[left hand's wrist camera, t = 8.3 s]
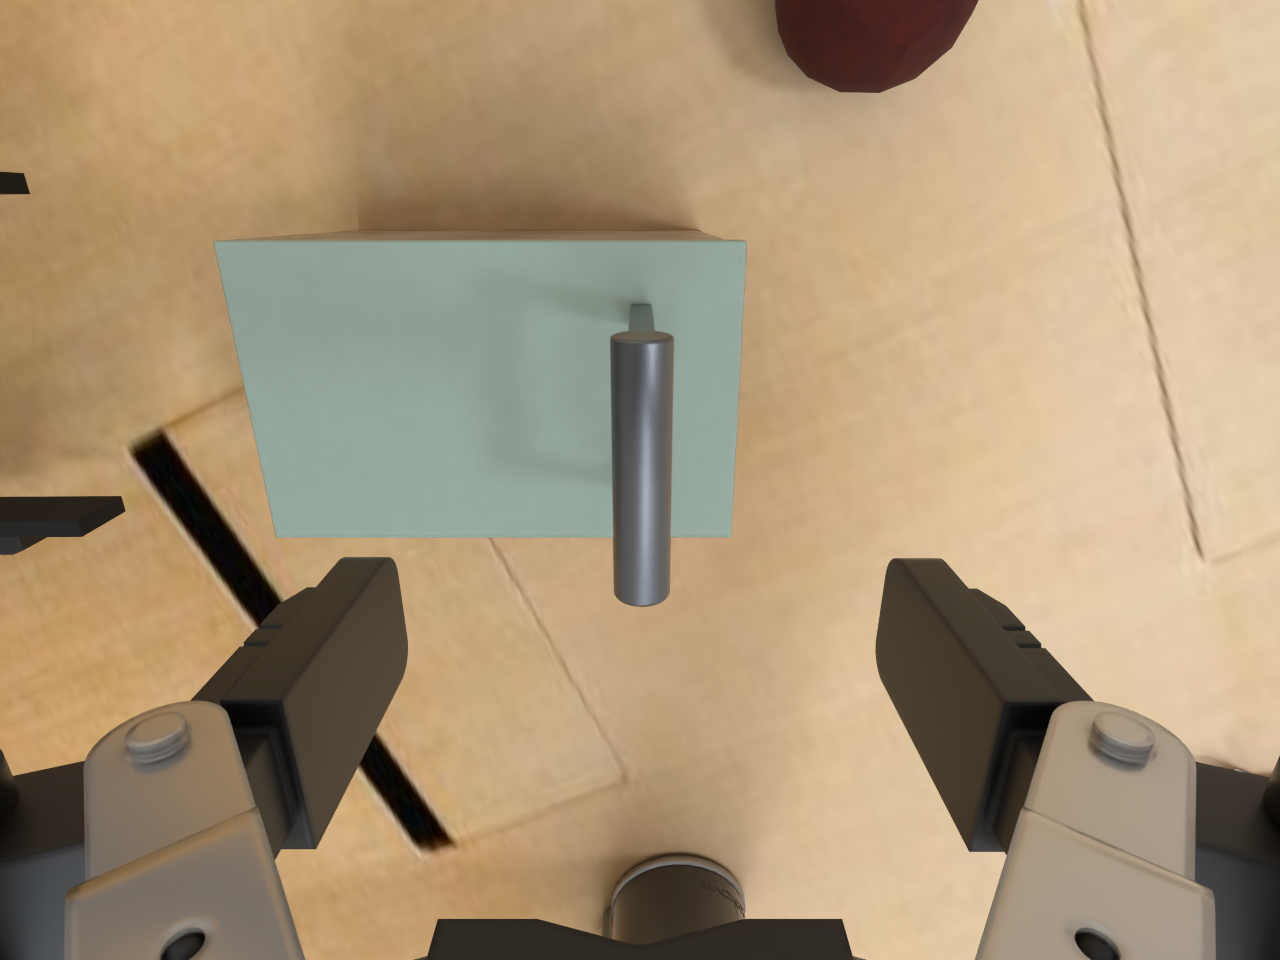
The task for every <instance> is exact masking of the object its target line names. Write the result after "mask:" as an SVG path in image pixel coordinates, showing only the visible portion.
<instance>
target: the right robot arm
mask: <svg viewBox="0 0 1280 960" xmlns="http://www.w3.org/2000/svg"><path fill="white" fill-rule="evenodd" d="M0 194H30V192H29V189H28V186H27V182H26V179H25V176H24V173H11V172H0ZM123 512H125V507H124V504H123V501H122V497H121V496H81V497H0V554H1V555H13V554H16V553H18V552H20V551H23V550H25V549H26V548H28V547H30V546H32V545H34V544H35V543H37V542H39V541H41V540H43V539H45V538H46V537H82V536H84V535H86V534H88V533H89V532H91V531H93V530H94V529H96V528H98V527H99V526H101V525H103V524H105V523H106V522H108V521H110V520H111V519H113V518H115V517H117V516H118V515H120V514H122V513H123Z"/></svg>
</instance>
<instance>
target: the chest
mask: <svg viewBox="0 0 1280 960" xmlns="http://www.w3.org/2000/svg"><path fill="white" fill-rule="evenodd" d="M236 240H724V239H721V238H718V237H715V236H712V235H709V234H706V233H704V232H701V231H700V230H355V231H345V232H332V233H318V234H304V235H291V236H277V237H263V238H250V239H236Z"/></svg>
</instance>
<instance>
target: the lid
mask: <svg viewBox="0 0 1280 960" xmlns="http://www.w3.org/2000/svg"><path fill="white" fill-rule="evenodd" d="M214 247H215V251H216V256H217V261H218V265H219V270H220V275H221V280H222V284H223V289H224V294H225V299H226V303H227V308H228V313H229V317H230V322H231V327H232V332H233V336H234V341H235V346H236V351H237V355H238V360H239V365H240V369H241V374H242V379H243V384H244V388H245V393H246V398H247V403H248V407H249V412H250V417H251V421H252V426H253V431H254V436H255V440H256V445H257V450H258V455H259V459H260V464H261V469H262V473H263V478H264V483H265V488H266V492H267V497H268V502H269V507H270V511H271V516H272V521H273V525H274V530H275V535H276V537H277V538H309V537H613V566H614V594H615V596H616V597H617V599H618V600H620V601H621V602H623V603H625V604H628V605H631V606H639V607H645V606H652V605H656V604H659V603H661V602H663V601H664V600H665V599H666V598H667V597H668V595H669V592H670V545H671V537H731V533H732V514H733V495H734V476H735V457H736V438H737V420H738V401H739V382H740V363H741V344H742V326H743V307H744V288H745V269H746V250H747V242H746V241H743V240H223V241H215V242H214Z"/></svg>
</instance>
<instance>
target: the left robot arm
mask: <svg viewBox="0 0 1280 960" xmlns="http://www.w3.org/2000/svg"><path fill="white" fill-rule="evenodd" d="M407 656H408V640H407V632H406V625H405V618H404V611H403V605H402V598H401V591H400V584H399V577H398V571H397V567H396V564H395V562H394V560H393V559H392V558H390V557H344V558H342V559H340V560H339V561H338V562H337V563H336V565H335V566H334V567H333V568H332V569H331V570H330V572H329V573H328V574H327V575H326V576H325V577H324V579H323V580H322V581H321V582H320V583H319V584H318V586H317V587H307V588H306V589H304V590H302V591H301V592H299V593H297V594H296V595H294V596H292V597H291V598H289V599H287V600H285V601H284V602H282V603H280V604H279V605H278V606H277V607H276V608H275V609H274V610H273V611H272V612H271V613H270V614H269V615H268V617H267V618H266V619H265V620H264V621H263V622H262V623H261V624H260V628H259V629H256V630H255V631H254V632H253V633H252V634H251V635H250V636H249V637H248V638H247V639H246V641H245V642H244V646H243V647H239V648H238V649H237V650H236V651H235V653H234V654H233V655H232V656H231V657H230V658H229V659H228V660H227V661H226V662H225V663H224V665H223V666H222V667H221V668H220V669H219V670H218V671H217V672H216V673H215V674H214V675H213V677H212V678H211V679H210V680H209V681H208V682H207V683H206V684H205V685H204V686H203V687H202V689H201V690H200V691H199V692H198V693H197V694H196V695H195V696H194V697H193V698H192V699H191V701H185V702H177V703H173V704H168V705H164V706H161V707H157V708H154V709H152V710H149V711H146V712H144V713H141V714H139V715H137V716H135V717H133V718H131V719H129V720H127V721H125V722H124V723H122V724H120V725H119V726H117V727H116V728H114V729H113V730H111V731H110V732H109V733H107V734H106V735H105V736H104V737H103V738H101V739H100V740H99V741H98V742H97V743H96V744H95V745H94V747H93V748H92V749H91V751H90V752H89V753H88V755H87V758H86V760H85V761H82V762H77V763H72V764H68V765H63V766H58V767H54V768H49V769H44V770H39V771H35V772H30V773H25V774H21V775H16V776H12V773H11V771H10V769H9V766H8V764H7V762H6V759H5V757H4V754H3V752H2V750H0V960H305V958H304V954H303V951H302V948H301V945H300V941H299V938H298V935H297V932H296V928H295V925H294V922H293V919H292V915H291V912H290V909H289V906H288V902H287V899H286V896H285V893H284V889H283V886H282V883H281V880H280V876H279V873H278V870H277V867H276V863H275V859H276V857H277V855H278V854H279V852H280V850H281V849H316V848H317V846H318V844H319V842H320V840H321V838H322V836H323V834H324V832H325V830H326V828H327V826H328V825H329V823H330V821H331V819H332V817H333V815H334V813H335V811H336V809H337V807H338V805H339V803H340V801H341V799H342V797H343V795H344V793H345V791H346V789H347V787H348V785H349V783H350V781H351V779H352V777H353V775H354V773H355V771H356V769H357V767H358V765H359V763H360V761H361V759H362V757H363V755H364V753H365V752H366V750H367V748H368V746H369V744H370V742H371V740H372V738H373V736H374V734H375V732H376V730H377V728H378V726H379V724H380V722H381V720H382V718H383V716H384V714H385V712H386V710H387V708H388V706H389V704H390V702H391V700H392V698H393V696H394V694H395V692H396V690H397V688H398V686H399V684H400V682H401V680H402V678H403V676H404V673H405V669H406V664H407ZM876 661H877V667H878V672H879V675H880V678H881V680H882V683H883V685H884V686H885V688H886V690H887V692H888V694H889V696H890V698H891V700H892V702H893V704H894V706H895V708H896V710H897V712H898V714H899V716H900V718H901V720H902V722H903V724H904V725H905V727H906V729H907V731H908V733H909V735H910V737H911V739H912V741H913V743H914V745H915V747H916V749H917V751H918V753H919V755H920V757H921V759H922V761H923V762H924V764H925V766H926V768H927V770H928V772H929V774H930V776H931V778H932V780H933V782H934V784H935V786H936V788H937V790H938V792H939V794H940V796H941V798H942V800H943V801H944V803H945V805H946V807H947V809H948V811H949V813H950V815H951V817H952V819H953V821H954V823H955V825H956V827H957V829H958V831H959V833H960V835H961V837H962V838H963V840H964V842H965V844H966V846H967V848H968V850H969V852H1005V853H1006V855H1007V857H1006V860H1005V863H1004V867H1003V870H1002V873H1001V876H1000V880H999V883H998V886H997V889H996V893H995V896H994V899H993V902H992V906H991V909H990V912H989V915H988V919H987V922H986V925H985V928H984V932H983V935H982V938H981V941H980V945H979V948H978V951H977V954H976V958H975V960H1280V756H1279V759H1278V761H1277V763H1276V766H1275V768H1274V770H1273V773H1272V775H1271V778H1269V777H1264V776H1259V775H1254V774H1250V773H1245V772H1240V771H1236V770H1231V769H1226V768H1221V767H1217V766H1212V765H1207V764H1203V763H1199V762H1195V760H1194V758H1193V755H1192V754H1191V752H1190V751H1189V749H1188V748H1187V747H1186V745H1185V744H1184V743H1183V742H1182V741H1181V740H1180V739H1179V738H1177V737H1176V736H1175V735H1174V734H1173V733H1171V732H1170V731H1169V730H1167V729H1166V728H1164V727H1163V726H1161V725H1160V724H1158V723H1156V722H1155V721H1153V720H1151V719H1149V718H1147V717H1145V716H1143V715H1141V714H1139V713H1136V712H1134V711H1131V710H1128V709H1126V708H1123V707H1119V706H1116V705H1112V704H1107V703H1103V702H1095V701H1094V700H1093V699H1092V698H1091V697H1090V696H1089V695H1088V694H1087V693H1086V692H1085V691H1084V690H1083V689H1082V688H1081V686H1080V685H1079V684H1078V683H1077V682H1076V681H1075V680H1074V679H1073V678H1072V677H1071V676H1070V675H1069V673H1068V672H1067V671H1066V670H1065V669H1064V668H1063V667H1062V666H1061V665H1060V664H1059V663H1058V662H1057V660H1056V659H1055V658H1054V657H1053V656H1052V655H1051V654H1050V653H1049V652H1048V651H1047V650H1046V649H1045V648H1041V643H1040V642H1039V641H1038V640H1037V639H1036V638H1035V637H1034V636H1033V635H1032V633H1031V632H1030V631H1026V630H1025V626H1024V625H1023V624H1022V623H1021V622H1020V620H1019V619H1018V618H1017V617H1016V616H1015V615H1014V614H1013V613H1012V612H1011V611H1010V610H1009V609H1008V607H1007V606H1005V605H1003V604H1002V603H1000V602H998V601H997V600H995V599H993V598H992V597H990V596H988V595H987V594H985V593H983V592H982V591H980V590H978V589H968V587H967V586H966V585H965V584H964V583H963V582H962V580H961V579H960V578H959V577H958V576H957V575H956V574H955V572H954V571H953V570H952V569H951V568H950V567H949V566H948V564H947V563H946V562H945V561H944V560H942V559H939V558H894V559H892V560H891V561H890V563H889V565H888V567H887V570H886V576H885V583H884V589H883V596H882V603H881V610H880V617H879V624H878V631H877V637H876ZM415 960H865V959H862V958H858V957H854V956H852V952H851V949H850V945H849V942H848V938H847V935H846V931H845V928H844V924H843V921H842V919H745V903H744V896H743V892H742V889H741V887H740V885H739V883H738V881H737V880H736V879H735V877H734V876H733V875H732V874H731V873H730V872H728V871H727V870H726V869H724V868H723V867H721V866H720V865H718V864H716V863H714V862H711V861H709V860H706V859H702V858H698V857H693V856H679V855H677V856H665V857H660V858H656V859H652V860H649V861H646V862H644V863H642V864H640V865H638V866H636V867H634V868H633V869H631V870H630V871H629V872H628V873H626V874H625V875H624V876H623V877H622V878H621V880H620V881H619V882H618V884H617V885H616V887H615V889H614V892H613V895H612V900H611V908H610V909H609V910H607V911H606V912H605V913H604V914H603V929H602V936H599V935H595V934H592V933H588V932H584V931H580V930H577V929H573V928H569V927H565V926H561V925H558V924H554V923H550V922H546V921H543V920H539V919H438V921H437V924H436V928H435V931H434V935H433V938H432V942H431V945H430V949H429V952H428V956H426V957H422V958H418V959H415Z"/></svg>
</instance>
